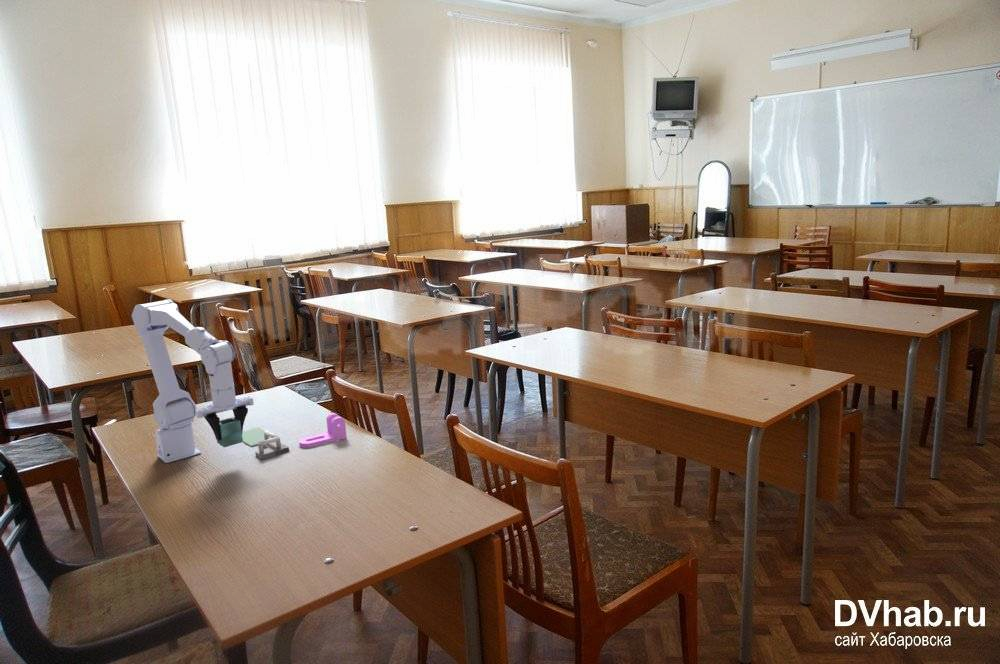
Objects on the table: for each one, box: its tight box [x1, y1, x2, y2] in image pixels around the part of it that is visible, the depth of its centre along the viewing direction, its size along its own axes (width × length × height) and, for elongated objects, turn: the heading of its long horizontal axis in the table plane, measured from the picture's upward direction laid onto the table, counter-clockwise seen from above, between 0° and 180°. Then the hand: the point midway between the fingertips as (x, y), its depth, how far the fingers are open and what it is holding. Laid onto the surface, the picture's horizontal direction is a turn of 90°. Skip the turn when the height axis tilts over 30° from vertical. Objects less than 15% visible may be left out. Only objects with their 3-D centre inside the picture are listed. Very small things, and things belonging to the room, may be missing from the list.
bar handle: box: [255, 429, 290, 460], centre depth 190 cm, size 8×12×4 cm
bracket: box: [298, 412, 348, 449], centre depth 195 cm, size 13×6×7 cm, turn 122°
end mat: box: [242, 427, 271, 448], centre depth 201 cm, size 8×14×1 cm, turn 42°
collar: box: [216, 416, 244, 448], centre depth 178 cm, size 5×5×6 cm
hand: (229, 436), depth 179 cm, fingers closed on collar, 5 cm apart
